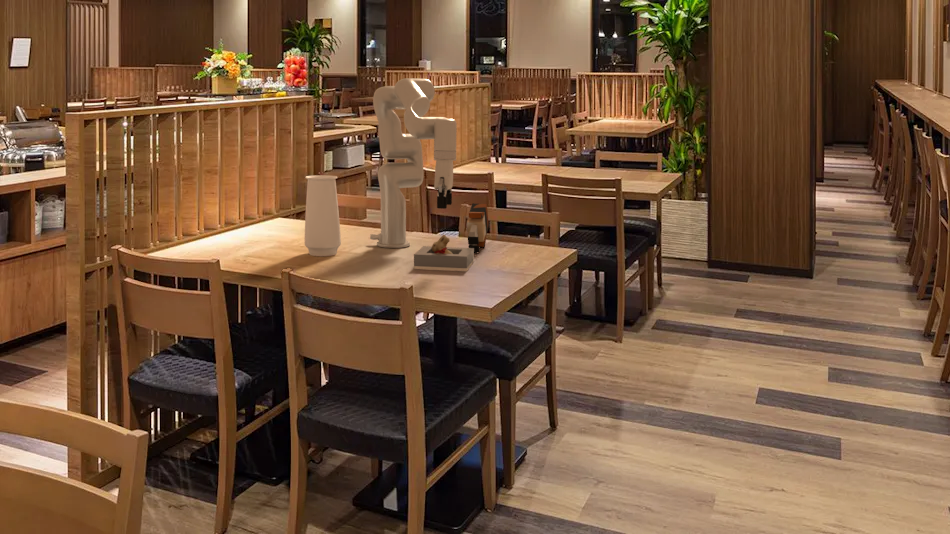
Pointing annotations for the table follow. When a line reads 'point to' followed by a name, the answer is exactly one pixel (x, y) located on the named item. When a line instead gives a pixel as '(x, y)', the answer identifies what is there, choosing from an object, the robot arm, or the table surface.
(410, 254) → the table surface
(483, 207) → the toy
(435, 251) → the chocolate bunny
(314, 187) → the vase
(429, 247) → the well
